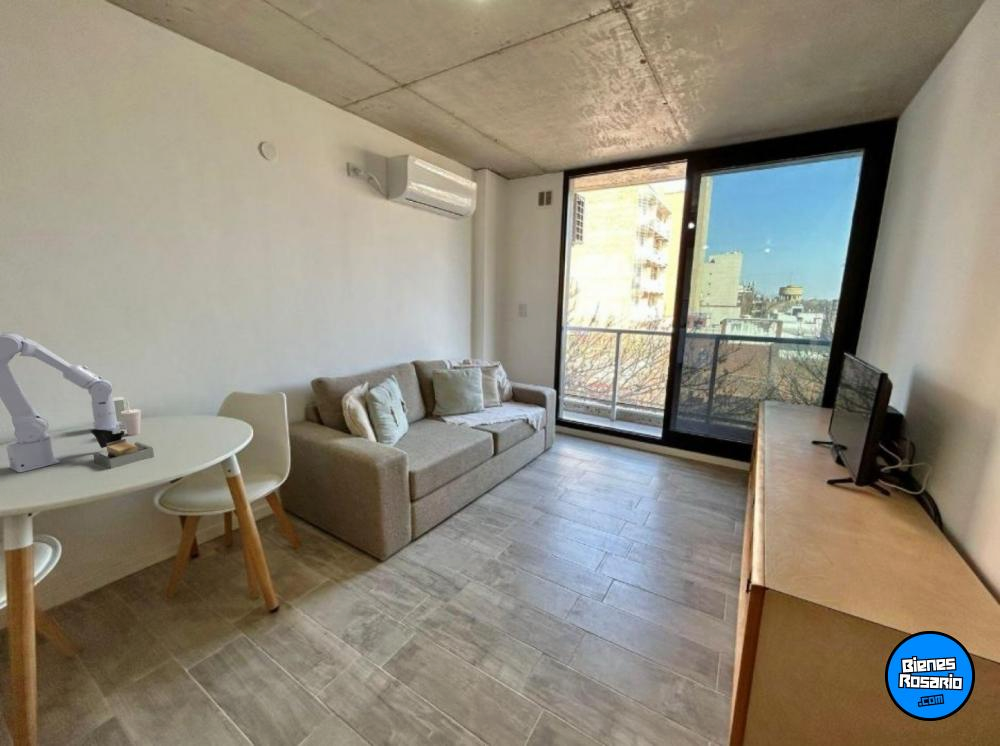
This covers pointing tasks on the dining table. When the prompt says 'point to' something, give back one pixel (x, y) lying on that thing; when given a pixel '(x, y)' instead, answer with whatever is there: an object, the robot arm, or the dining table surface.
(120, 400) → the supplement box
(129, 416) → the smoothie
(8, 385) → the robot arm
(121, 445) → the trolley
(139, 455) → the dock
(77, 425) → the dining table surface
